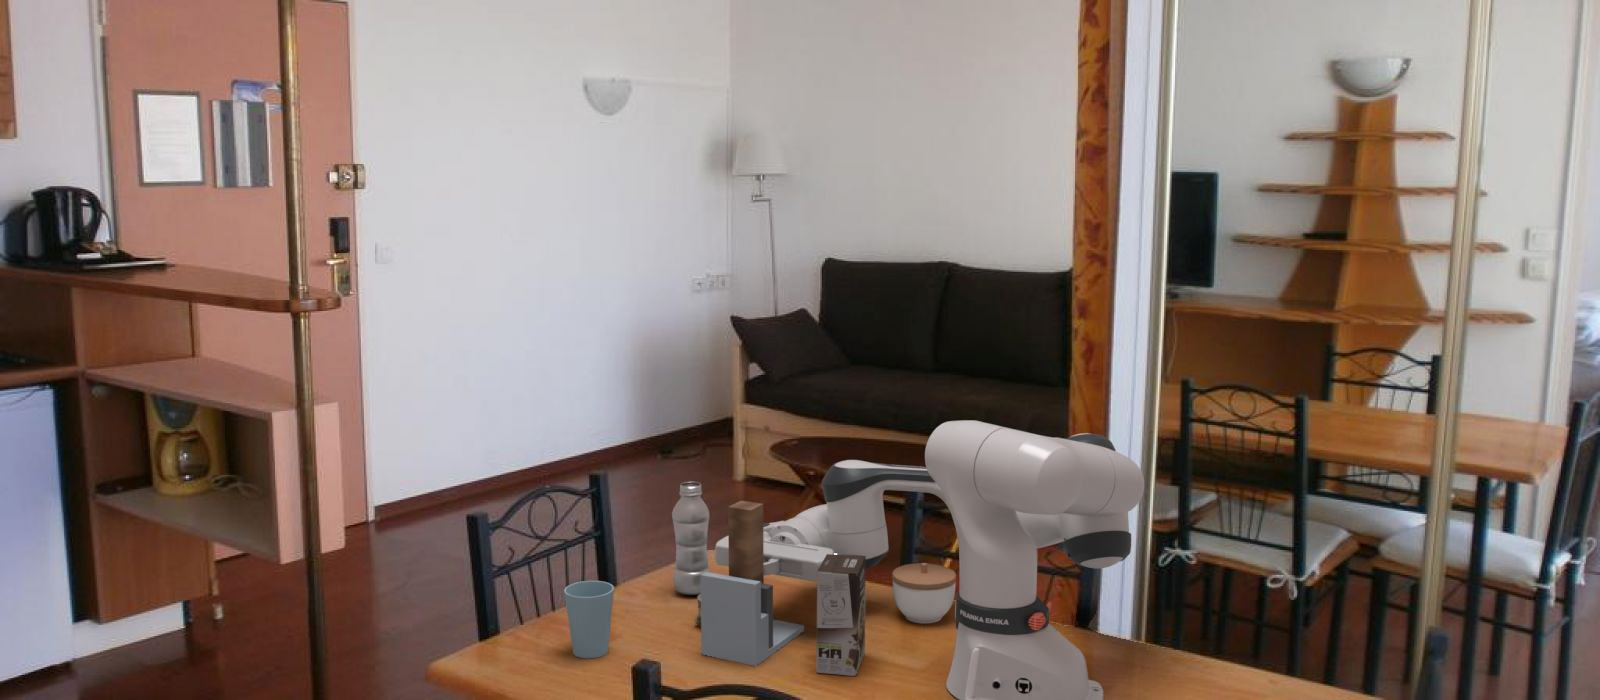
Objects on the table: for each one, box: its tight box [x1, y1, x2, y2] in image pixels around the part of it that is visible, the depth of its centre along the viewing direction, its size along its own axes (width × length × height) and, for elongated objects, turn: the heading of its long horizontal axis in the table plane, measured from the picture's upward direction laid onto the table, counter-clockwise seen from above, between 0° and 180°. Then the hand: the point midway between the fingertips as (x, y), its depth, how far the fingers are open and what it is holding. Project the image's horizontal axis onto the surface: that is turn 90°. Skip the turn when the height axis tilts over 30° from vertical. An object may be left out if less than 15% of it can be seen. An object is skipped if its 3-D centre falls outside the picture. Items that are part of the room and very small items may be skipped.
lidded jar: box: [891, 562, 957, 625], centre depth 211 cm, size 11×11×9 cm
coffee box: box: [815, 554, 866, 677], centre depth 192 cm, size 9×6×16 cm
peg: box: [727, 500, 765, 584], centre depth 197 cm, size 4×4×22 cm
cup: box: [563, 580, 615, 659], centre depth 196 cm, size 8×8×10 cm
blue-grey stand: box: [700, 572, 805, 667], centre depth 200 cm, size 10×16×13 cm, turn 153°
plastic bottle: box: [671, 481, 711, 596], centre depth 222 cm, size 6×7×20 cm
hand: (751, 571), depth 199 cm, fingers closed
